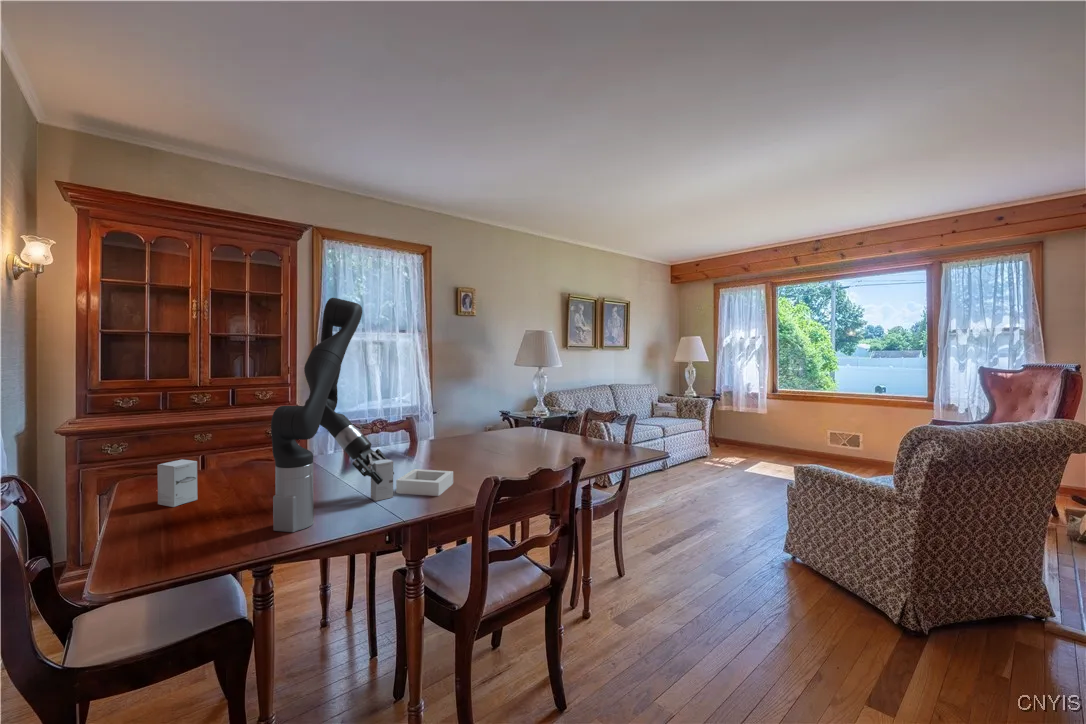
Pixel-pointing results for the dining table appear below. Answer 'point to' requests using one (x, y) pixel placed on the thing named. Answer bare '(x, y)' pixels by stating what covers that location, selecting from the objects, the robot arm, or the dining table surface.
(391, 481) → the skincare box
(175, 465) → the supplement box
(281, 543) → the dining table surface
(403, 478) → the well holder
